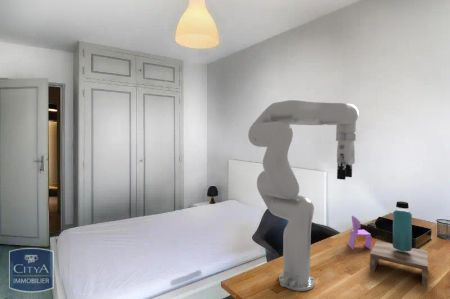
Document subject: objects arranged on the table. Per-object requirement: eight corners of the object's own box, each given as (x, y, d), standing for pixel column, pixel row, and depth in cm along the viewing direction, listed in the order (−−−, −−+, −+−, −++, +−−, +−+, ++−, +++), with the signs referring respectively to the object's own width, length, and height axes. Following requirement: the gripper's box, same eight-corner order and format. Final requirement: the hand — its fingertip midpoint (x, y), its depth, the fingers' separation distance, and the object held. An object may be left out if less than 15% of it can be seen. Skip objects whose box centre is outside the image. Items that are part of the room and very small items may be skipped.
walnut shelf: (427, 285, 94) (427, 266, 94) (369, 270, 105) (370, 253, 105) (427, 268, 107) (427, 251, 107) (376, 256, 118) (376, 240, 118)
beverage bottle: (414, 256, 102) (416, 204, 101) (395, 254, 104) (396, 203, 103) (407, 249, 108) (408, 200, 108) (389, 247, 110) (390, 199, 109)
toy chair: (373, 250, 124) (373, 218, 123) (354, 250, 124) (354, 218, 124) (364, 243, 132) (365, 213, 132) (346, 243, 133) (347, 213, 132)
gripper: (349, 137, 103) (348, 181, 104) (360, 138, 117) (359, 177, 117) (329, 137, 108) (328, 179, 109) (342, 138, 121) (341, 175, 122)
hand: (344, 178), depth 113 cm, fingers open, 9 cm apart
